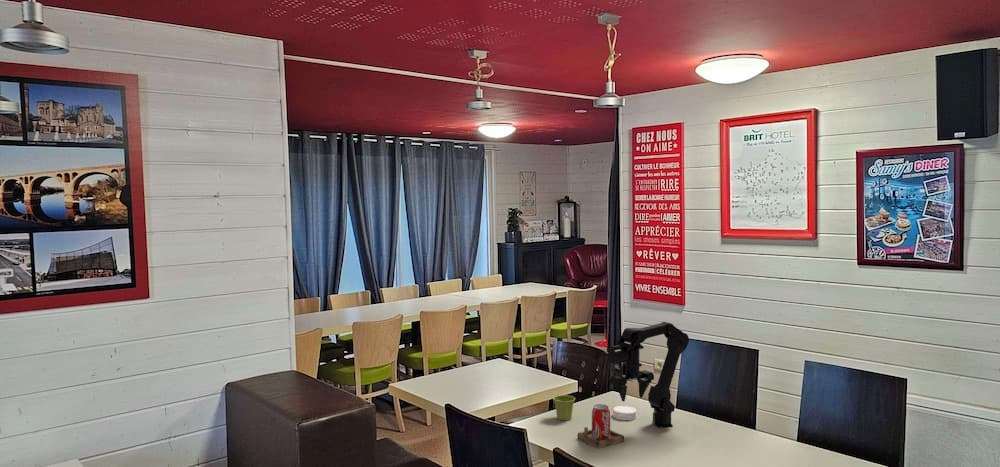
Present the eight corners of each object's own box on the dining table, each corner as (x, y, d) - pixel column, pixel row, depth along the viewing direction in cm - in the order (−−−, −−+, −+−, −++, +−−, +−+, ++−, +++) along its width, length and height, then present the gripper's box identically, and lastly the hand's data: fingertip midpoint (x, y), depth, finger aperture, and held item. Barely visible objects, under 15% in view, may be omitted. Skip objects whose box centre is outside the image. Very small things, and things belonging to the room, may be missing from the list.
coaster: (636, 421, 265) (636, 413, 265) (612, 420, 267) (612, 412, 267) (636, 414, 275) (636, 406, 275) (613, 412, 277) (613, 405, 277)
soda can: (599, 442, 239) (599, 410, 239) (587, 436, 246) (587, 405, 245) (614, 438, 243) (614, 407, 242) (602, 433, 249) (602, 402, 249)
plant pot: (549, 416, 272) (549, 396, 272) (568, 413, 276) (567, 393, 276) (560, 423, 264) (560, 402, 263) (579, 420, 268) (579, 399, 267)
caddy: (603, 432, 253) (603, 419, 253) (624, 441, 242) (624, 428, 242) (577, 438, 246) (577, 425, 246) (597, 448, 236) (597, 435, 236)
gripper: (635, 353, 264) (635, 390, 264) (600, 359, 254) (600, 398, 255) (654, 359, 254) (654, 397, 255) (619, 365, 245) (619, 405, 245)
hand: (632, 399), depth 253 cm, fingers open, 9 cm apart
